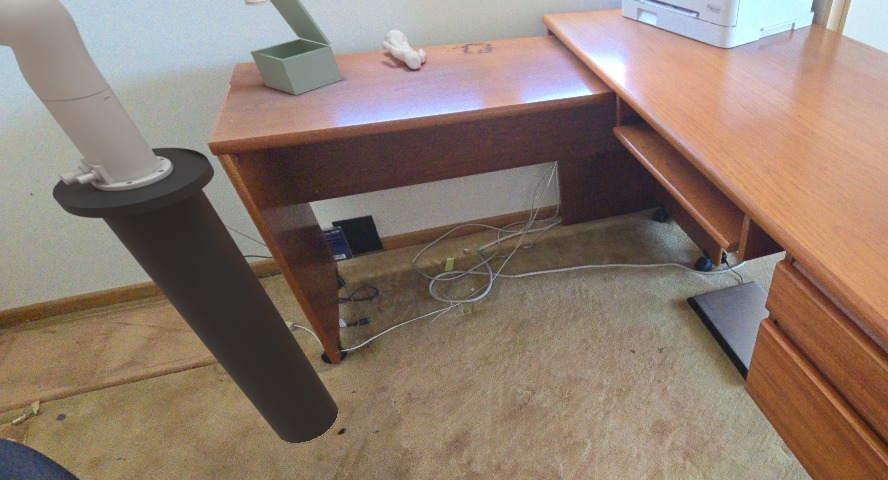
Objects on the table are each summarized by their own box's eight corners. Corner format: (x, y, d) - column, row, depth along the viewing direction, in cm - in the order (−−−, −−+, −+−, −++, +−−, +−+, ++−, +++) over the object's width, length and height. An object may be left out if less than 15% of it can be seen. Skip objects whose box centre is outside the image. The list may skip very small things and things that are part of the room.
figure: (372, 46, 149) (391, 70, 138) (372, 21, 145) (393, 44, 134) (413, 55, 156) (434, 78, 145) (414, 31, 152) (437, 53, 141)
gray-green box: (296, 95, 126) (281, 60, 121) (265, 85, 130) (250, 51, 124) (342, 79, 135) (330, 46, 129) (312, 71, 139) (300, 38, 133)
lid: (285, -15, 116) (300, -29, 118) (252, -22, 120) (267, -35, 121) (329, 45, 129) (342, 32, 131) (298, 37, 133) (311, 24, 134)
